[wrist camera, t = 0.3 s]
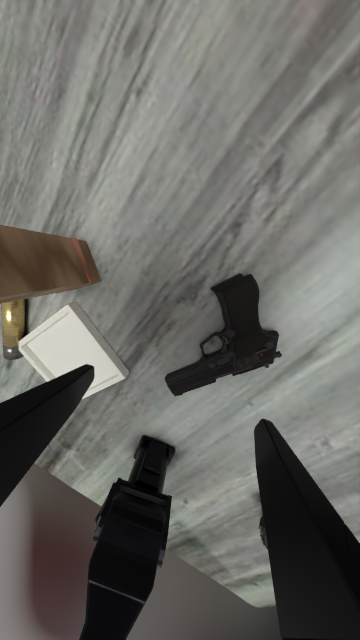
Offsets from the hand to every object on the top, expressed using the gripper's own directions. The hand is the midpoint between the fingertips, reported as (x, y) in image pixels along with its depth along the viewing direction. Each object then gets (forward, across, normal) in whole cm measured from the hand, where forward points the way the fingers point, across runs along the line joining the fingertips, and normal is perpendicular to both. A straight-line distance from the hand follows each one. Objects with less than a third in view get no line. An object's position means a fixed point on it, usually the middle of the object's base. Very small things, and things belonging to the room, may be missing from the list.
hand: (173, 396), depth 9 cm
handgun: (+14, -3, +5) cm, 15 cm away
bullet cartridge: (+13, +26, +10) cm, 30 cm away
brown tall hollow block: (+14, +16, 0) cm, 22 cm away
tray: (+12, +16, +14) cm, 25 cm away
